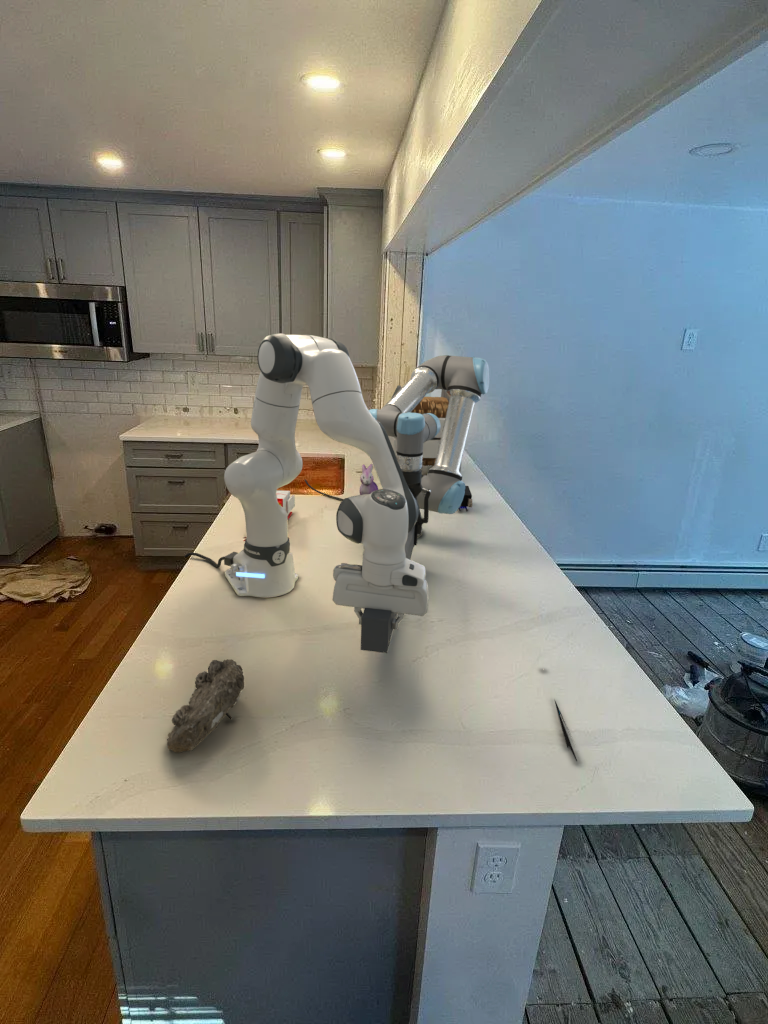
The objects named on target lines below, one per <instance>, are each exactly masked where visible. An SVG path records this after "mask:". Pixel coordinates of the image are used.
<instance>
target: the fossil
mask: <svg viewBox="0 0 768 1024" xmlns="http://www.w3.org/2000/svg"><path fill="white" fill-rule="evenodd" d="M243 670H244V669H243V667H242V665H240V664H237V662H236V661H235V660H234V659H232V658H231V659H227V658H226V659H224V660H223V661H222V660H217V659H212V660H211V661H210V663H209V665H208V666H207V671H201V672H199V673H198V674H197V675H196V676H195V680H194V684H195V685H194V687H195V689H194V690H193V693H192V694H191V697H190V698H189V700H188V704H184V705H182V706H181V707H180V709H177V710H176V711H175V713H174V715H173V716H172V718H171V723H172V724H173V727H172V730H171V731H170V732H168V734H167V738H166V741H167V742H166V745H167V749H168V750H169V751H173V752H174V753H176V754H178V753H182V752H188V751H189V752H192V751H193V750H195V748H196V747H197V746H199V744H200V743H201V742H203V741H204V740H205V739H206V738H207V737H208V736H209V735H210V734H211V733H212V732H214V730H215V729H217V727H218V726H219V724H220V722H221V721H222V720H223V719H224V718H225V716H226V717H227V719H229V720H233V717H232V715H230V714H229V710H230V709H231V708H234V706H235V704H236V703H237V702H238V699H239V697H240V695H241V693H242V691H243V690H245V689H244V688H245V675H244V671H243Z"/></svg>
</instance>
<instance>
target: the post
mask: <svg viewBox="0 0 768 1024" xmlns="http://www.w3.org/2000/svg"><path fill="white" fill-rule="evenodd" d="M416 522H417V521H416ZM414 535H415V525H414V527H413V528H412V530H411V531H410V532H409V533H408V537H407V541H406V543H405V553H406V558H408V559H410V560H412V555H413V551H414V547H415V545H414ZM362 612H363V615H362V621H361V625H360V651H366V652H373V653H374V652H375V653H382V654H388V652H389V648H390V643H391V640H392V635H393V632H394V629H391V622H392V618H394V619H396V618H397V617H398V616H397V615H398V613H394V612H391V611H390V610H381V609H372V608H365V609H364V608H363V611H362Z"/></svg>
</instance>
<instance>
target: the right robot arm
mask: <svg viewBox="0 0 768 1024" xmlns="http://www.w3.org/2000/svg"><path fill="white" fill-rule="evenodd" d="M490 381H491V379H490V366H489V363H488V361H487V360H486V359H484V358H481V357H475V356H459V355H448V354H443V355H438V356H434V357H431V358H430V359H427V360H425V361H424V362H422V363H421V364H419V365H418V366H417V367H416V368H415V369H414V370H413V371H412V373H411V375H410V378H409V379H408V381H406V382H405V383H404V385H402V386H401V387H402V388H401V389H400V390H399V391H398V392H397V393H396V394H395V395H394V396H393V395H392V396H393V397H392V396H391V398H390V399H389V400H388V401H387V402H386V403H385V405H383V407H381V409H379V408H370V409H368V410H369V412H370V413H371V415H372V416H373V417H374V418H375V420H377V421H379V422H380V423H381V424H382V425H383V427H384V429H385V431H386V433H387V435H388V436H391V437H397V450H396V458H397V460H398V463H399V465H400V468H401V471H402V473H403V476H404V478H405V481H406V483H407V486H408V488H409V489H410V491H411V493H412V495H413V496H414V498H415V500H416V502H417V505H418V509H419V515H418V519H417V522H416V524H415V535H414V546H417V545H418V539H419V538H420V537H421V536H422V535H423V524H428V523H429V520H430V519H429V514H430V512H434V513H439V514H441V515H442V514H446V515H453V514H455V513H456V512H457V511H459V509H458V508H459V507H460V505H461V503H462V501H463V498H464V494H465V486H466V483H465V482H464V481H463V475H462V473H461V474H460V472H459V469H460V465H461V466H462V462H461V460H462V459H463V455H464V451H465V447H466V442H467V439H468V438H467V437H468V433H469V429H470V425H471V421H472V416H473V412H474V409H475V408H474V407H475V404H476V403H478V402H479V401H481V398H482V395H486V394H487V393H488V391H489V388H490ZM442 389H444V390H447V395H448V396H449V398H450V400H449V404H448V408H447V413H446V417H445V421H444V426H443V430H442V434H441V439H440V443H439V447H438V452H437V456H436V460H435V464H434V466H431V467H430V468H428V469H427V470H428V471H427V474H423V473H422V472H423V470H422V468H423V466H422V460H423V443H424V442H426V441H428V440H431V439H433V438H434V437H435V436H436V435H437V434H438V433H439V431H440V427H441V424H440V421H439V419H438V417H437V416H435V415H434V414H431V413H424V414H419V413H411V411H412V410H413V409H414V408H415V407H416V406H417V405H418V403H419V402H420V401H421V400H422V399H423V398H424V397H427V395H428V394H431V393H433V392H434V391H436V390H442ZM462 461H463V460H462ZM304 483H305V484H306V485H307V486H308V487H309V489H311V490H313V491H314V492H315V493H318V494H320V495H323V496H325V497H328V498H331V499H334V500H338V501H341V502H342V501H343V500H344V499H345V498H341V497H338V496H334V495H331V494H327V493H324V492H322V491H320V490H317V489H316V488H314V487H313V486H312V485H311V484H309V482H308V480H307V479H304ZM421 510H423V517H422V512H421Z"/></svg>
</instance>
